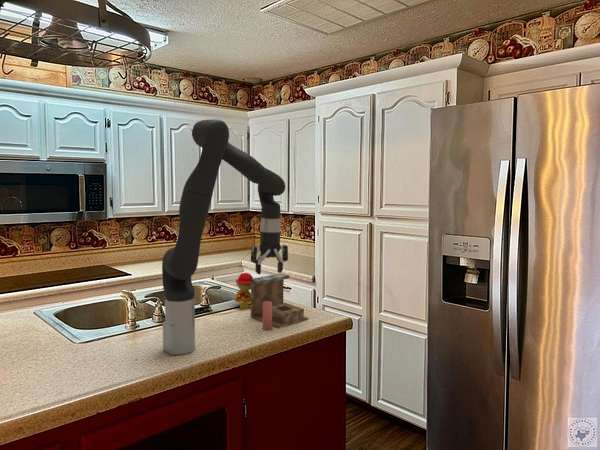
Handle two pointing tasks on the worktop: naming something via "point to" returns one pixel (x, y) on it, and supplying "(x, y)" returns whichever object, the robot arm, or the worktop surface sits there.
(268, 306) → the peg
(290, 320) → the socket station
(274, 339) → the worktop surface
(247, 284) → the toy
